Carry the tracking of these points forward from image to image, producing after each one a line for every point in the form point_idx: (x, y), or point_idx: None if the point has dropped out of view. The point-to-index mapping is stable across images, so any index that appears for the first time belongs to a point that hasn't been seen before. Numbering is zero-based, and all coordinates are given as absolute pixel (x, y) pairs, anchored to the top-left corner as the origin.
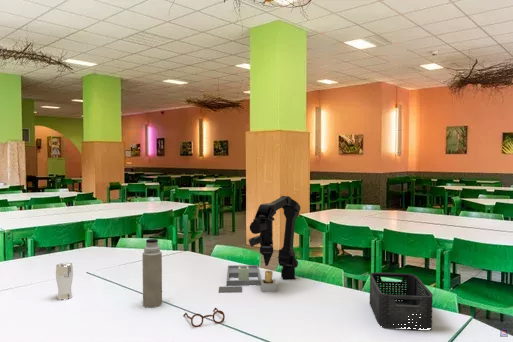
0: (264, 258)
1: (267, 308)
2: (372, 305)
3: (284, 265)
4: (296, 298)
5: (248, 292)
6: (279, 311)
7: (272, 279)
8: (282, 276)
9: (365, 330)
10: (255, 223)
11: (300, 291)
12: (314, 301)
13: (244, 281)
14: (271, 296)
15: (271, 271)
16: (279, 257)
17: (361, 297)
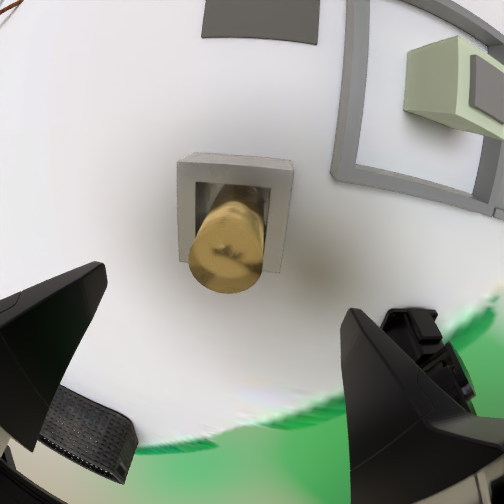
0: (11, 303)
1: (18, 175)
2: (82, 405)
3: (424, 365)
4: (114, 299)
5: (196, 74)
6: (9, 213)
7: (280, 258)
8: (408, 315)
9: None
10: None
11: (199, 336)
12: (100, 337)
13: (351, 61)
14: (124, 202)
15: (227, 285)
16: (443, 390)
17: (158, 421)
